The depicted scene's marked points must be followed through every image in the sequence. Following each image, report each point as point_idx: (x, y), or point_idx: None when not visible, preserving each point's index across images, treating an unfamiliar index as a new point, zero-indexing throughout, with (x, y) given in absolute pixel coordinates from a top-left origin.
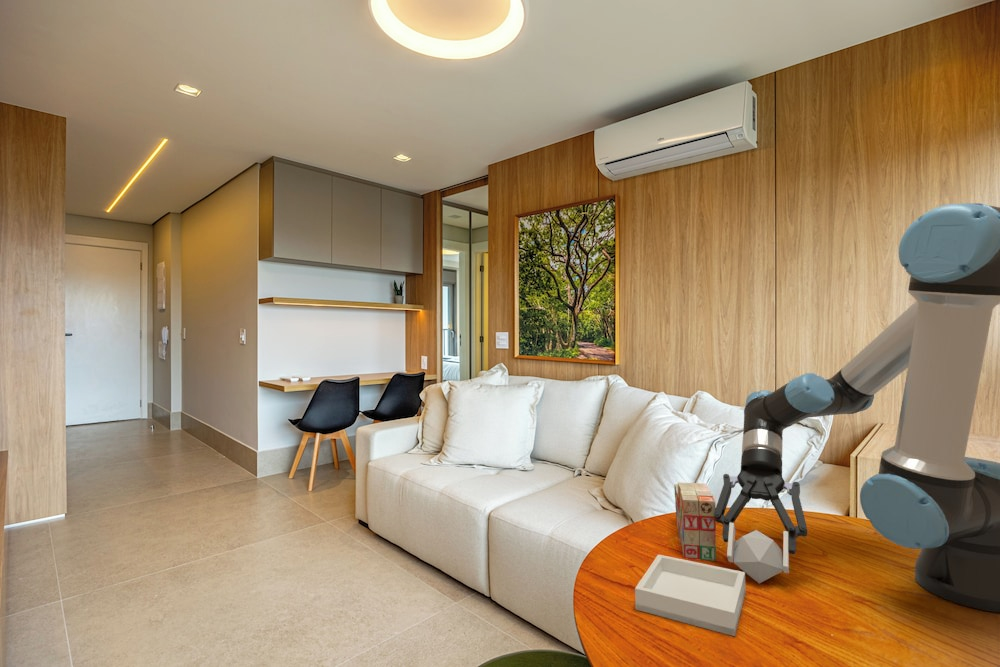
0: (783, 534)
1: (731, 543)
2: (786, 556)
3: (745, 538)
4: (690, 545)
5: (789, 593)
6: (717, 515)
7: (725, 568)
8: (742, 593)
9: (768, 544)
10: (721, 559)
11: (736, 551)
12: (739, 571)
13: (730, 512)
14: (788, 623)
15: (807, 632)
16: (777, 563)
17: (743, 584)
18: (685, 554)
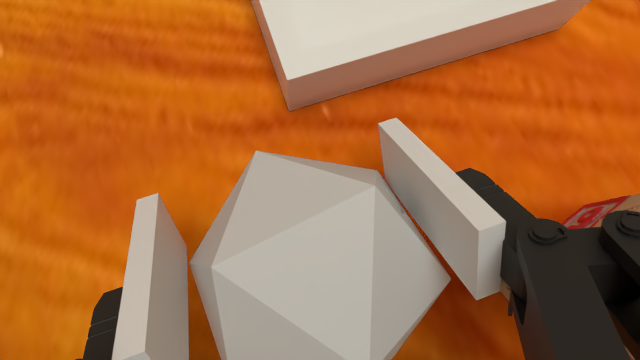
0: (146, 326)
1: (409, 150)
2: (140, 229)
3: (355, 186)
4: (607, 213)
5: (175, 220)
6: (620, 221)
7: (358, 55)
8: (258, 12)
9: (233, 232)
10: (488, 315)
11: (386, 187)
12: (306, 71)
13: (570, 289)
14: (116, 22)
15: (59, 13)
16: (205, 240)
17: (268, 34)
18: (593, 207)
